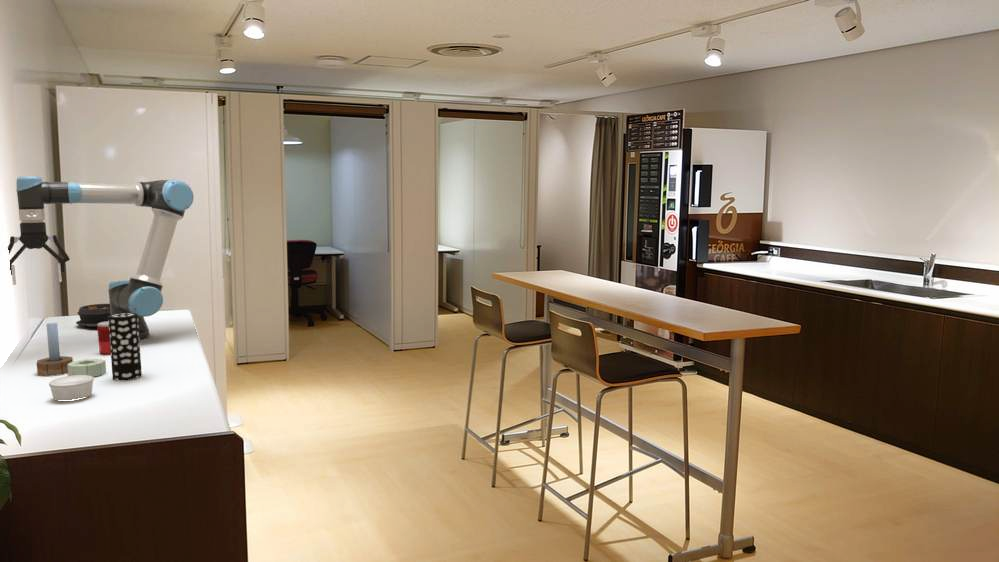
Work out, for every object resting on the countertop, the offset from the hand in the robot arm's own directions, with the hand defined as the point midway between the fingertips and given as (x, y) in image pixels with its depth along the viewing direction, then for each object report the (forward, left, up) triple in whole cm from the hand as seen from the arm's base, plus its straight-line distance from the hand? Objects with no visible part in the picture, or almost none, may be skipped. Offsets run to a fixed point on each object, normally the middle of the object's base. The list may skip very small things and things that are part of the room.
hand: (37, 283), depth 259 cm
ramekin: (-9, +60, -27) cm, 66 cm away
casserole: (-19, -59, -27) cm, 68 cm away
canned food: (-21, +2, -27) cm, 34 cm away
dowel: (-4, +24, -27) cm, 36 cm away
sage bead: (-13, +33, -27) cm, 44 cm away
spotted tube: (-24, +43, -27) cm, 56 cm away
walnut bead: (-4, +24, -27) cm, 36 cm away
